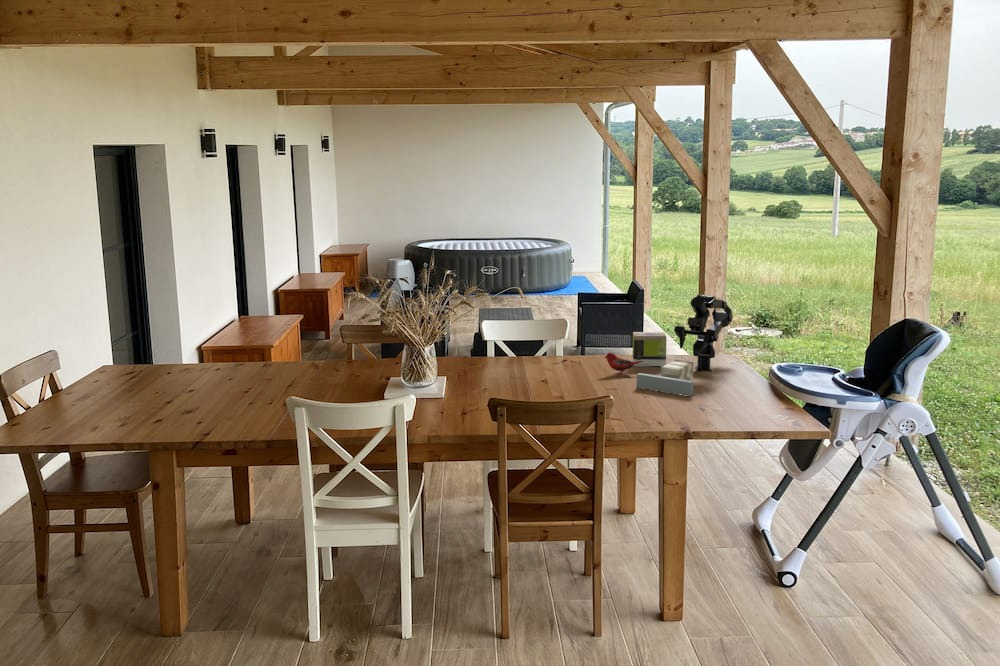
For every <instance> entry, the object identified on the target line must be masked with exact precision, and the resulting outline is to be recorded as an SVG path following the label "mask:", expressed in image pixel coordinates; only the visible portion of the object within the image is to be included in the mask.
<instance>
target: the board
mask: <svg viewBox="0 0 1000 666" xmlns="http://www.w3.org/2000/svg"><path fill="white" fill-rule="evenodd" d="M637 387H638V388H637ZM636 388H637V389H640V388H644V389H643V390H646V389H652V390H657V391H656V392H658V391H663V392H662V393H664V392H668V393H667V394H670V393H675V394H674V395H676V394H682V395H687V396H686V397H688V396H691V395H693V396H694V381H688V380H682V379H675V378H669V377H662V376H661V375H655V374H649V373H641V372H638V373H637V374H636ZM652 390H651V391H652ZM682 395H681V396H682ZM691 397H692V396H691Z"/></svg>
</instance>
